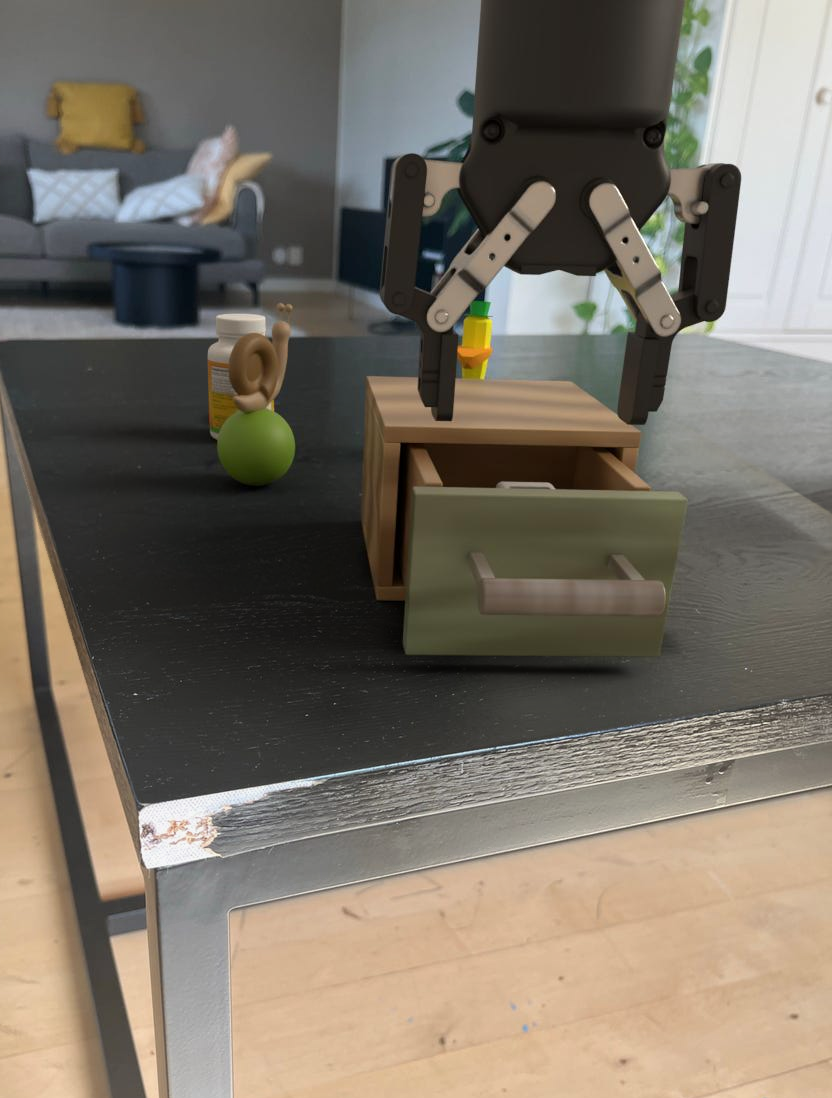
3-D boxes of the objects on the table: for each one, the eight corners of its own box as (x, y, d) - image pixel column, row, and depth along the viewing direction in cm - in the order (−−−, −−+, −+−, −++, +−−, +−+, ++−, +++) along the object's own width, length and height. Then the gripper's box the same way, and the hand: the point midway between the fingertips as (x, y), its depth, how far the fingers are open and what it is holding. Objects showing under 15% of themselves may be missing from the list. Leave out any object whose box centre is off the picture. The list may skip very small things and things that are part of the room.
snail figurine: (316, 479, 72) (320, 306, 67) (265, 500, 67) (265, 314, 62) (255, 467, 74) (254, 299, 69) (202, 486, 69) (197, 307, 64)
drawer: (700, 711, 39) (736, 537, 36) (417, 709, 39) (430, 532, 36) (585, 560, 55) (603, 430, 52) (382, 557, 54) (389, 425, 51)
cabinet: (614, 603, 52) (641, 431, 48) (376, 601, 51) (384, 425, 47) (553, 523, 64) (571, 381, 60) (360, 520, 63) (366, 375, 60)
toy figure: (481, 471, 75) (495, 307, 70) (435, 467, 76) (446, 304, 71) (492, 451, 81) (506, 298, 76) (449, 447, 82) (461, 295, 77)
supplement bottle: (235, 426, 86) (233, 310, 82) (286, 435, 84) (287, 316, 80) (196, 437, 82) (192, 316, 78) (248, 447, 80) (247, 322, 76)
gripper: (402, -42, 33) (383, 438, 40) (815, -25, 34) (727, 443, 41) (385, -5, 40) (371, 400, 47) (729, 9, 41) (665, 405, 47)
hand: (537, 419), depth 44 cm, fingers open, 8 cm apart
